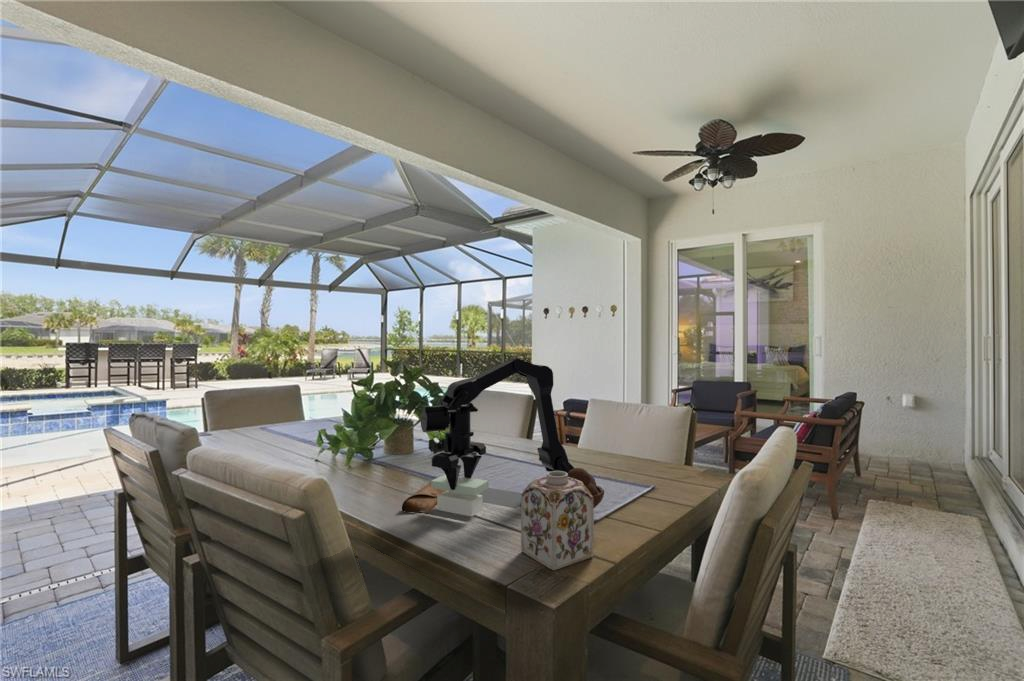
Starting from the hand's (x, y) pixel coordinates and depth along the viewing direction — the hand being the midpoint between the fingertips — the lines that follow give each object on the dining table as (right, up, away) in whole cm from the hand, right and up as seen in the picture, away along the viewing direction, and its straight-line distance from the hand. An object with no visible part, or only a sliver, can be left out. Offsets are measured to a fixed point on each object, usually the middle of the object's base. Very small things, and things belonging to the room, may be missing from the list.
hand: (460, 485), depth 133 cm
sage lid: (0, -1, 0) cm, 1 cm away
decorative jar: (+24, -8, -26) cm, 36 cm away
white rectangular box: (0, -7, 0) cm, 7 cm away
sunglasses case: (-10, -8, +8) cm, 15 cm away
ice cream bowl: (+32, -7, -10) cm, 34 cm away
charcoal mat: (+10, -7, +11) cm, 16 cm away
